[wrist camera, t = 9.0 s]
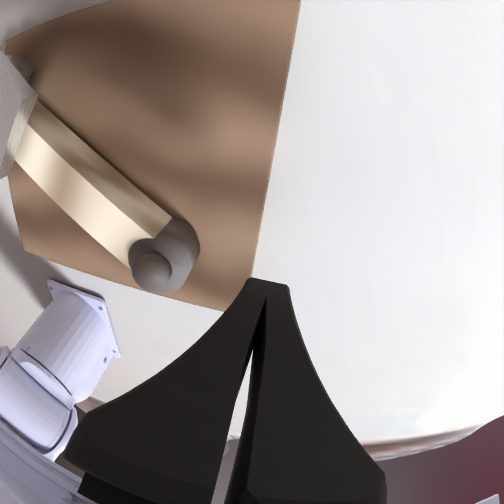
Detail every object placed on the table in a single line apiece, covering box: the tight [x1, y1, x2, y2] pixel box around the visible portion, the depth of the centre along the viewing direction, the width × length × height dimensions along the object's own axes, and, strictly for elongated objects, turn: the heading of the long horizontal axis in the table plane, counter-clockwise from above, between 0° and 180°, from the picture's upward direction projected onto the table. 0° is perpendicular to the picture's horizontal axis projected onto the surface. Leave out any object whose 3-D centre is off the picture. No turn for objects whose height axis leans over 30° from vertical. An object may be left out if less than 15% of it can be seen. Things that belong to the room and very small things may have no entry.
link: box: [15, 100, 200, 292], centre depth 14 cm, size 16×4×4 cm, turn 49°
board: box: [5, 0, 300, 312], centre depth 16 cm, size 20×22×2 cm
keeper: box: [0, 51, 39, 179], centre depth 11 cm, size 8×6×5 cm
